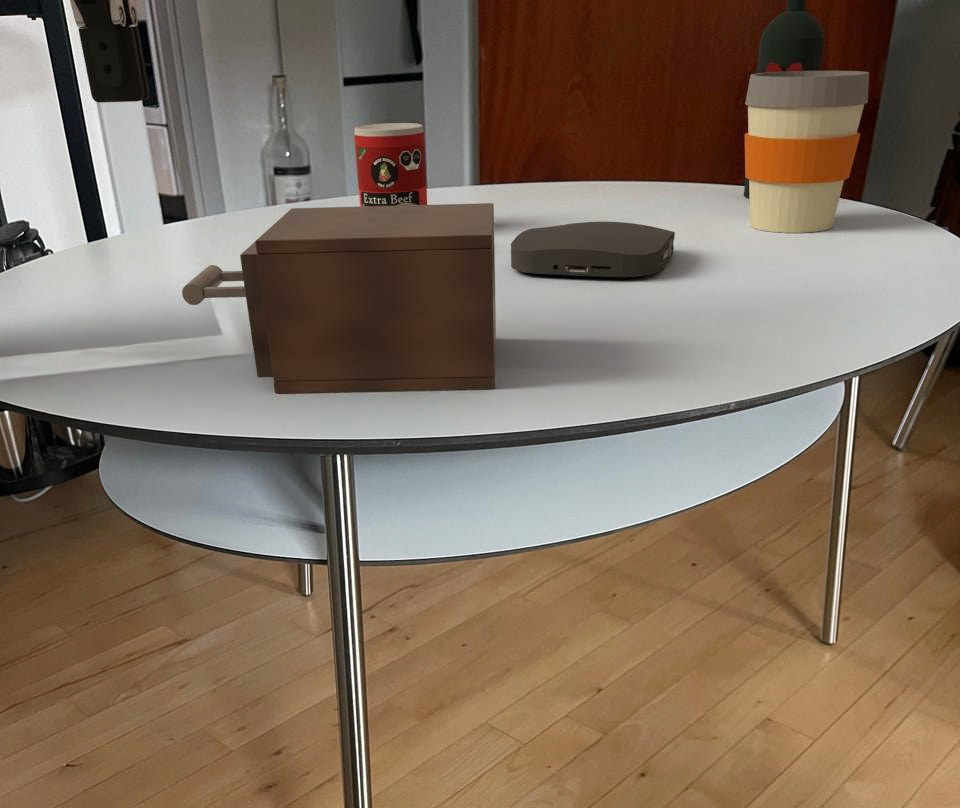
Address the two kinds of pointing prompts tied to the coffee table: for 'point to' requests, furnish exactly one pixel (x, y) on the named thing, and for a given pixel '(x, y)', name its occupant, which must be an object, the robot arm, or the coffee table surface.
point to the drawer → (208, 288)
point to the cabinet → (380, 298)
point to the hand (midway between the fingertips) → (122, 100)
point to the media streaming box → (593, 250)
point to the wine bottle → (790, 45)
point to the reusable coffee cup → (801, 146)
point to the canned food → (391, 164)
